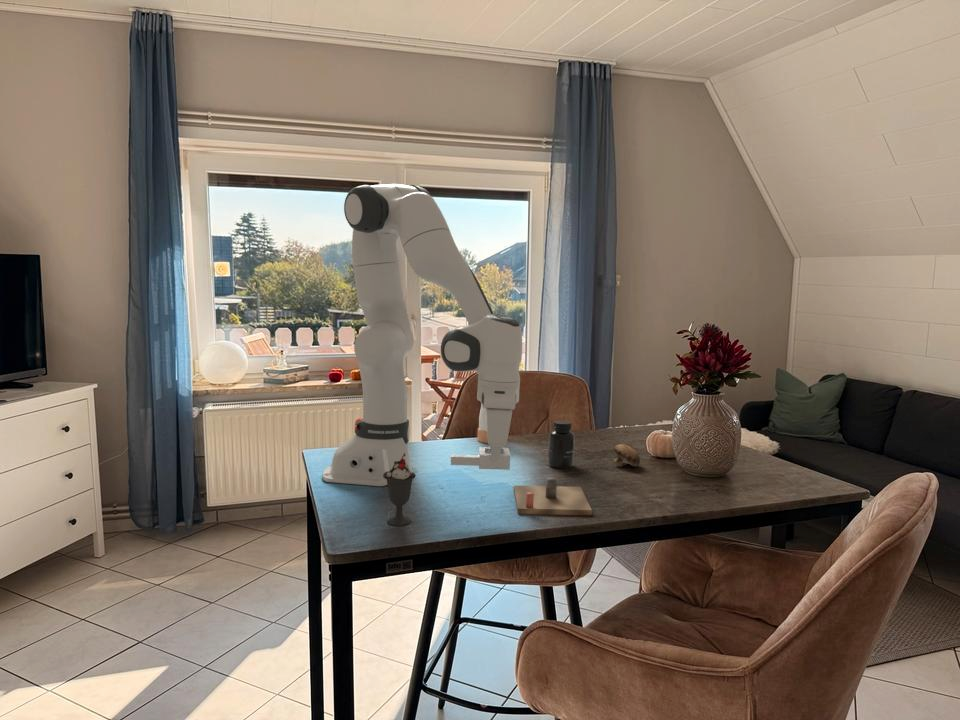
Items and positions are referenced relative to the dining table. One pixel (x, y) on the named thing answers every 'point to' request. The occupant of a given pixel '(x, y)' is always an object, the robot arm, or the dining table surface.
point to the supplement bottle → (561, 445)
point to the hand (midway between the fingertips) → (494, 456)
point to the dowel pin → (529, 499)
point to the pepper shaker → (482, 426)
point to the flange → (483, 459)
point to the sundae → (399, 489)
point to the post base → (552, 499)
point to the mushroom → (626, 456)
